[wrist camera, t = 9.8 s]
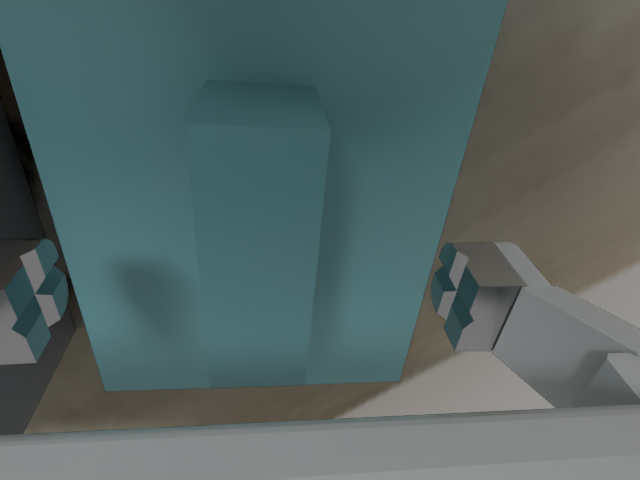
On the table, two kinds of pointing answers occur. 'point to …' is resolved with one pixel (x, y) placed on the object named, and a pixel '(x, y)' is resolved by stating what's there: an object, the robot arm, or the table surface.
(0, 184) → the storage box
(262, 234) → the lid
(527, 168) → the table surface
